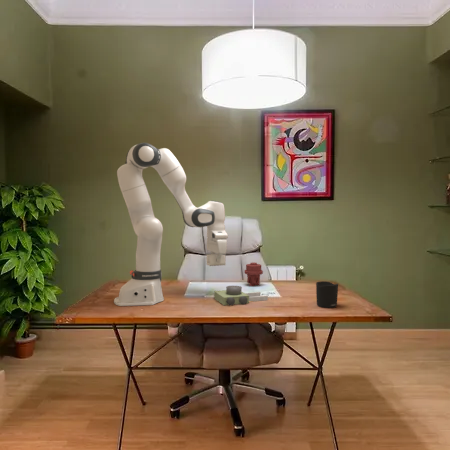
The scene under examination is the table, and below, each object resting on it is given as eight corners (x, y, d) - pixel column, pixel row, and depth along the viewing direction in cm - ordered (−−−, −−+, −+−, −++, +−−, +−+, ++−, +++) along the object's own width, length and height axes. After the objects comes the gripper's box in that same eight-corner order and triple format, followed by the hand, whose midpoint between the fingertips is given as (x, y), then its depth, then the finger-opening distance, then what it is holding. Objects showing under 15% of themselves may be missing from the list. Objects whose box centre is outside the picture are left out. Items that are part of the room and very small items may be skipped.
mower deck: (224, 306, 179) (224, 291, 179) (214, 298, 194) (214, 284, 193) (271, 302, 187) (271, 288, 186) (257, 294, 201) (257, 281, 201)
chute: (210, 266, 198) (210, 255, 198) (206, 264, 203) (206, 254, 203) (225, 265, 201) (225, 255, 200) (221, 263, 206) (221, 253, 205)
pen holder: (316, 308, 177) (317, 285, 176) (315, 302, 186) (315, 281, 185) (339, 308, 175) (339, 285, 175) (336, 303, 185) (336, 281, 184)
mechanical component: (244, 283, 230) (262, 283, 229) (243, 286, 220) (262, 287, 219) (245, 261, 229) (262, 261, 228) (244, 264, 219) (262, 264, 218)
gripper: (203, 232, 210) (203, 259, 210) (216, 235, 190) (216, 264, 191) (215, 232, 212) (215, 258, 213) (229, 235, 193) (229, 264, 193)
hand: (216, 261), depth 202 cm, fingers closed on chute, 5 cm apart
